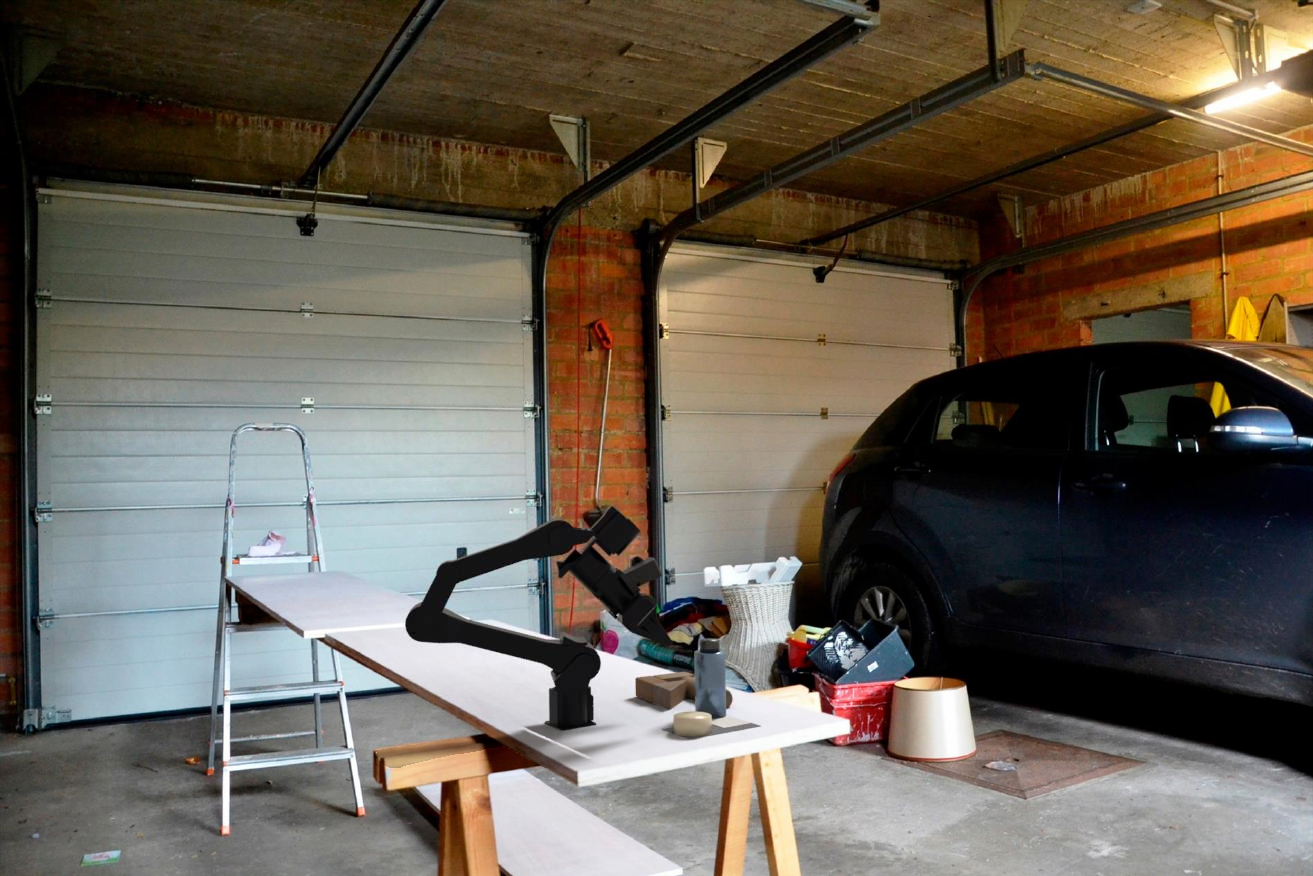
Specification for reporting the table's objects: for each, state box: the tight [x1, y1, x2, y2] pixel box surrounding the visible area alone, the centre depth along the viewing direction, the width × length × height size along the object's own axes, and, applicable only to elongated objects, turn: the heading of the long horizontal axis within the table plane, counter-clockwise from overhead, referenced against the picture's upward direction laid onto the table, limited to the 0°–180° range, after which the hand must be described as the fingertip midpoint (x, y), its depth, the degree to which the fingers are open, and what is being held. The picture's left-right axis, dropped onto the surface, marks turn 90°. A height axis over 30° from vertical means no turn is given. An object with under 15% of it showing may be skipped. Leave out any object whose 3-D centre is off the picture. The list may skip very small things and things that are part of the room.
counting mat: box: [661, 716, 761, 740], centre depth 161 cm, size 14×8×1 cm, turn 123°
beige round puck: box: [673, 710, 713, 737], centre depth 159 cm, size 6×6×2 cm
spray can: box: [693, 637, 727, 720], centre depth 170 cm, size 5×5×13 cm
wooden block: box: [635, 671, 734, 710], centre depth 182 cm, size 4×11×18 cm
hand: (665, 640), depth 169 cm, fingers open, 9 cm apart
